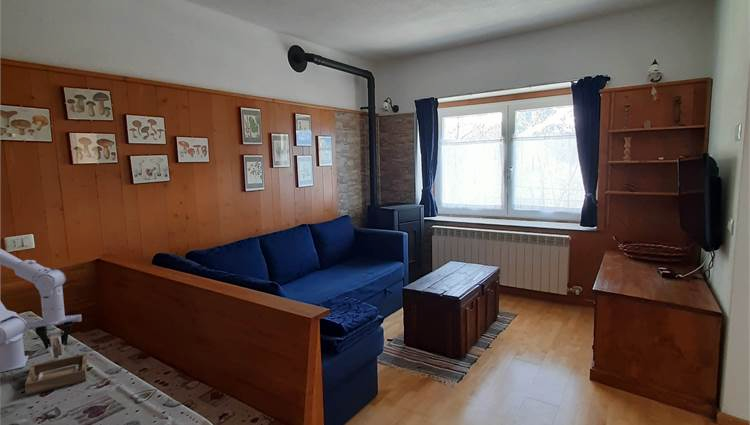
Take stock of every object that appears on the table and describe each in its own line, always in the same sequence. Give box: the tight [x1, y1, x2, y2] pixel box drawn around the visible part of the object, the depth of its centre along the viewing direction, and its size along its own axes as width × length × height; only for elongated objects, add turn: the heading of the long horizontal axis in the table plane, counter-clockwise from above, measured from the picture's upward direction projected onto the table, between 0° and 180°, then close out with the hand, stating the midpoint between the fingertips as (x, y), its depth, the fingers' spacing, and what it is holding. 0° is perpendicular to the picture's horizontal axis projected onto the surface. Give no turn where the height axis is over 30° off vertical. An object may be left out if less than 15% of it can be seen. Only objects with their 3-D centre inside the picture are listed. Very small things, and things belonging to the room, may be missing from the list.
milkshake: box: [47, 329, 65, 361], centre depth 132 cm, size 4×5×10 cm
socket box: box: [24, 353, 88, 397], centre depth 122 cm, size 14×14×4 cm
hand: (56, 345), depth 132 cm, fingers closed on milkshake, 4 cm apart
